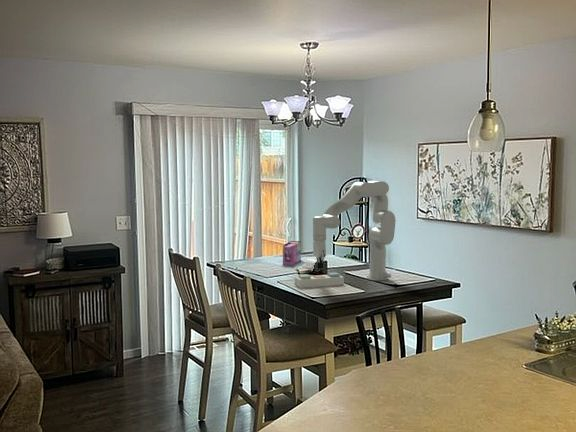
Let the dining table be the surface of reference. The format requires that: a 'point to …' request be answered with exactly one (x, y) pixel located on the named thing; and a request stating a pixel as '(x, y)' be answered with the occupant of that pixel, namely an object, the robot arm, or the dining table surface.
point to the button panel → (319, 281)
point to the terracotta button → (319, 276)
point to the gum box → (291, 252)
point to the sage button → (305, 276)
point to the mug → (309, 264)
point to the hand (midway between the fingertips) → (320, 268)
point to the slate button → (334, 274)
